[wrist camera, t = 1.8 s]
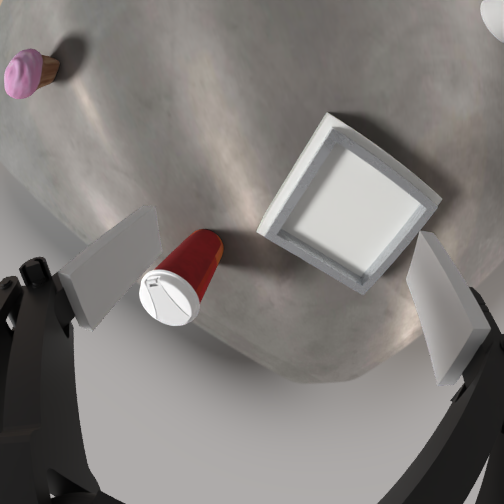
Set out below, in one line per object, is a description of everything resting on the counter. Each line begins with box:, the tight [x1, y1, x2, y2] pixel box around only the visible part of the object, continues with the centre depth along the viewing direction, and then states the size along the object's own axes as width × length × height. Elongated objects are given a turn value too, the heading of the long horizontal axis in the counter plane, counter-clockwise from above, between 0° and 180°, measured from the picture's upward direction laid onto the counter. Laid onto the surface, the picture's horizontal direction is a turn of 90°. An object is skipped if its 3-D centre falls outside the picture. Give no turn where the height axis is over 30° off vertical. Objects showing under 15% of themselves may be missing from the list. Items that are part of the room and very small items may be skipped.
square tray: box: [256, 112, 442, 295], centre depth 32 cm, size 16×16×7 cm
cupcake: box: [4, 49, 60, 99], centre depth 28 cm, size 9×9×10 cm
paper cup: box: [139, 229, 224, 326], centre depth 37 cm, size 8×8×14 cm
